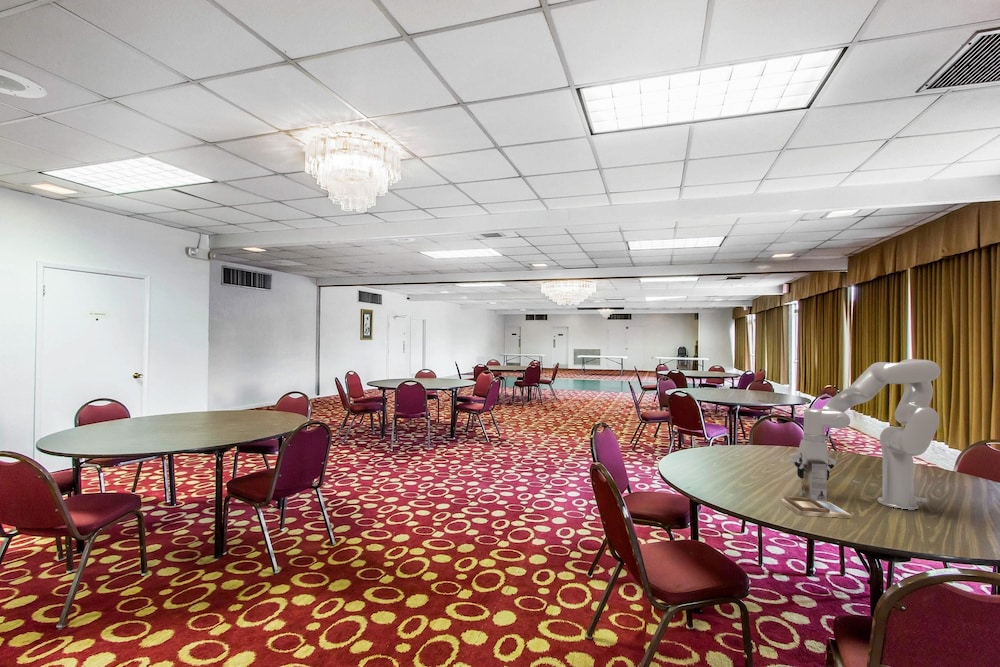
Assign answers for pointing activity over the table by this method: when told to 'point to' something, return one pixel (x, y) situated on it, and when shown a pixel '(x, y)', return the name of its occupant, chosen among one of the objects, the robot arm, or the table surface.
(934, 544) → the table surface
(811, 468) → the coffee box
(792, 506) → the build board
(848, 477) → the table surface
